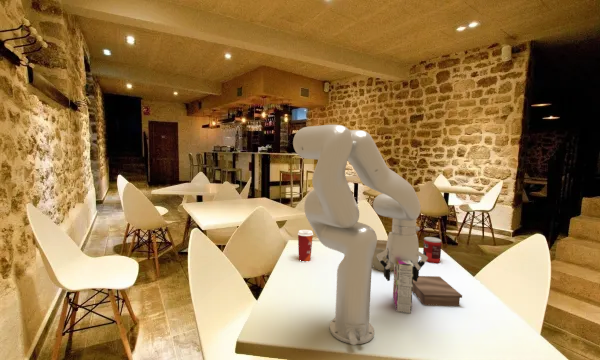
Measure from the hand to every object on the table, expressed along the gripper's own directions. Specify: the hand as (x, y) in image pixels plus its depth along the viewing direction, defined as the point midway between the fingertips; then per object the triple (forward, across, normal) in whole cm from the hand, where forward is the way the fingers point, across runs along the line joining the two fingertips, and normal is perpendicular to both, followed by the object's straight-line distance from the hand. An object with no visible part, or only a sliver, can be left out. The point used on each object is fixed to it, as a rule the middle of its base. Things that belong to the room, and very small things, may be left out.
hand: (400, 279), depth 100 cm
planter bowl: (+9, -4, -34) cm, 35 cm away
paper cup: (+9, +32, -42) cm, 53 cm away
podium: (+9, -14, -7) cm, 18 cm away
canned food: (+9, -31, -45) cm, 55 cm away
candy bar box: (+9, 0, 0) cm, 9 cm away
